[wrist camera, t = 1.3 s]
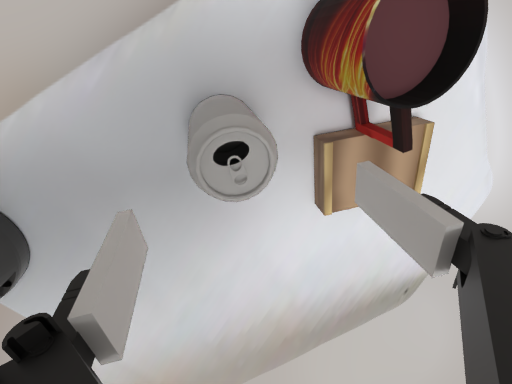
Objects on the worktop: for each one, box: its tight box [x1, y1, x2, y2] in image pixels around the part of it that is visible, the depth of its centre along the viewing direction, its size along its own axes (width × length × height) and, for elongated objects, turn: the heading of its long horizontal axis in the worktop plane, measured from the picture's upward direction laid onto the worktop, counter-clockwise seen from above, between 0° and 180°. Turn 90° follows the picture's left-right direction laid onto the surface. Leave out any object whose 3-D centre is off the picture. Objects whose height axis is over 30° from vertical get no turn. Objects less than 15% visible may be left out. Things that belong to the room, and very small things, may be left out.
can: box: [187, 95, 278, 202], centre depth 26 cm, size 8×8×12 cm
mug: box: [301, 0, 488, 153], centre depth 25 cm, size 10×14×12 cm
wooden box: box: [314, 117, 434, 216], centre depth 36 cm, size 14×10×3 cm
